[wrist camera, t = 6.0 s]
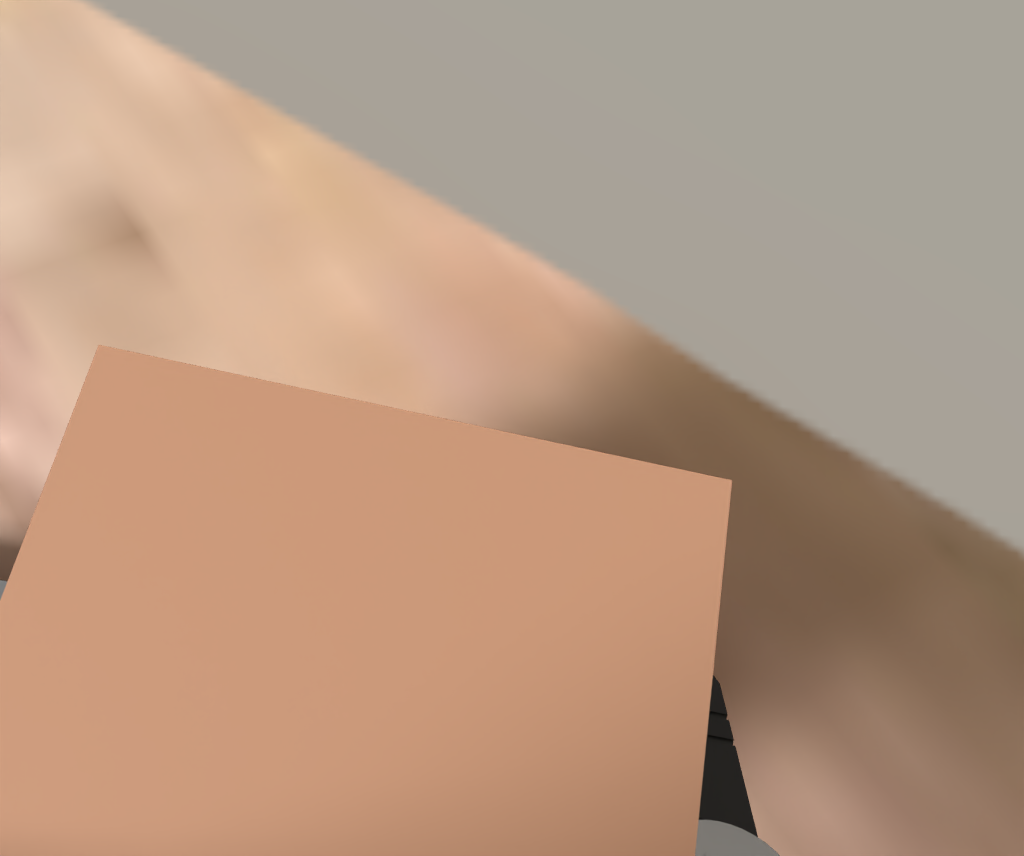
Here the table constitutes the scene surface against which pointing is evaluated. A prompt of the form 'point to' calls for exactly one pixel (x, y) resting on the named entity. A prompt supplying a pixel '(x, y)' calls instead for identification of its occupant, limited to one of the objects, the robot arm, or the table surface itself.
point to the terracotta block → (350, 633)
